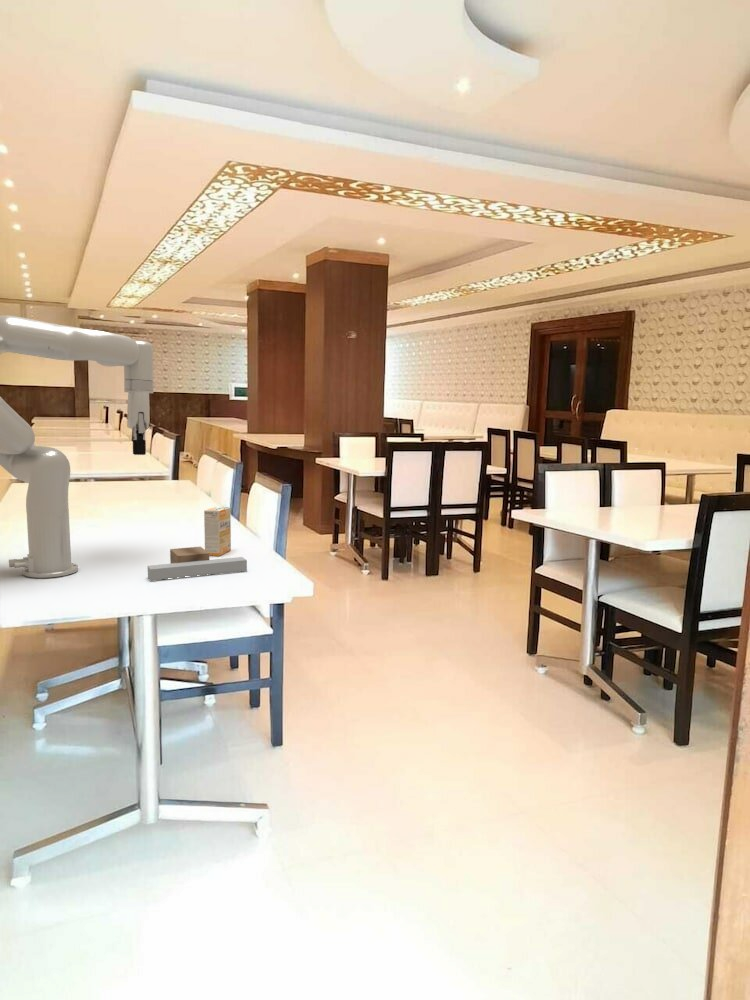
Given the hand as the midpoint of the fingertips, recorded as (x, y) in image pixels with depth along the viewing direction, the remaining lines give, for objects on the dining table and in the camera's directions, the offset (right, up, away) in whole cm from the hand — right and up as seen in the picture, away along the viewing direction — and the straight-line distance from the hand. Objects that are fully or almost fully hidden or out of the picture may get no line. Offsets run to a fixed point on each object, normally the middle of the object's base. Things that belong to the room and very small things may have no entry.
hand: (139, 454), depth 189 cm
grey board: (+20, -31, -16) cm, 41 cm away
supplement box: (+20, -28, +9) cm, 35 cm away
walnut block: (+17, -31, -10) cm, 37 cm away
